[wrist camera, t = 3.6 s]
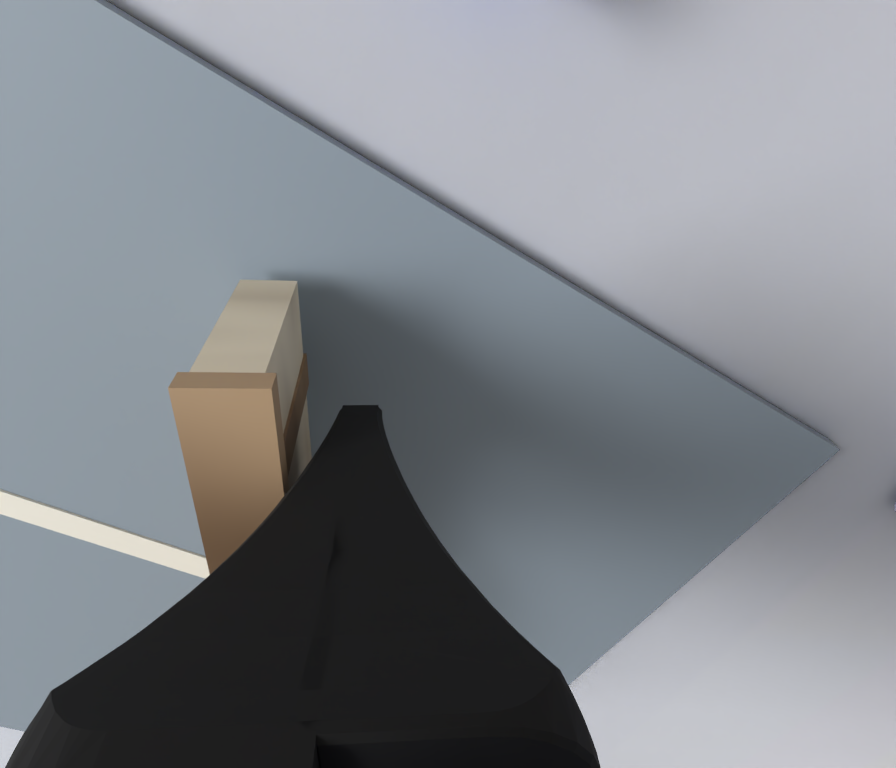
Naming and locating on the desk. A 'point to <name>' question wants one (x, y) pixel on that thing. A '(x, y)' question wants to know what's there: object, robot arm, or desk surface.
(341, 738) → the robot arm
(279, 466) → the fence panel
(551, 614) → the board
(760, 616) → the desk surface
